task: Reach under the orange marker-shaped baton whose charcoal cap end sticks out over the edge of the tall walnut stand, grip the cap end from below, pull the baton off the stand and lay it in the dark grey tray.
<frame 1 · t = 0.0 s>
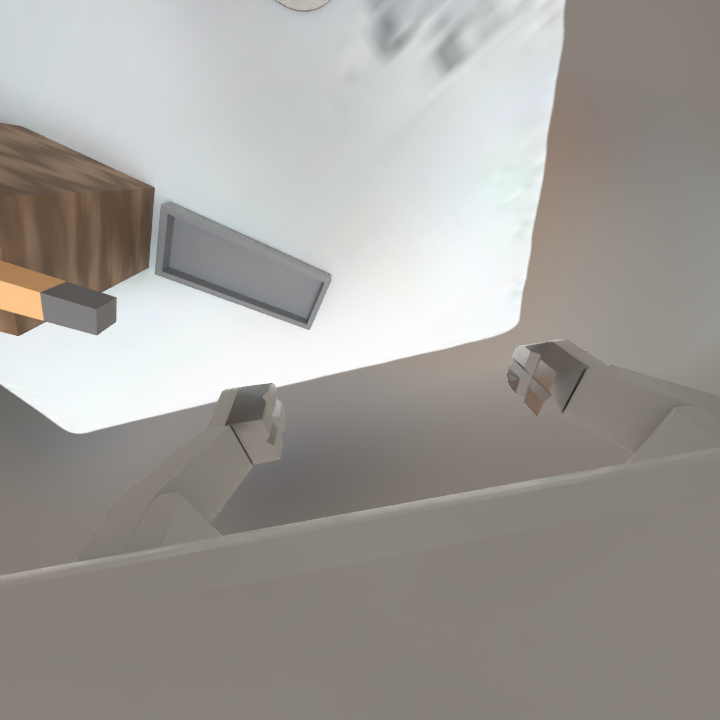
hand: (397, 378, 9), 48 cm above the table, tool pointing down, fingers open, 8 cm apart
tray: (251, 271, 52), on the table
stand: (94, 207, 43), on the table
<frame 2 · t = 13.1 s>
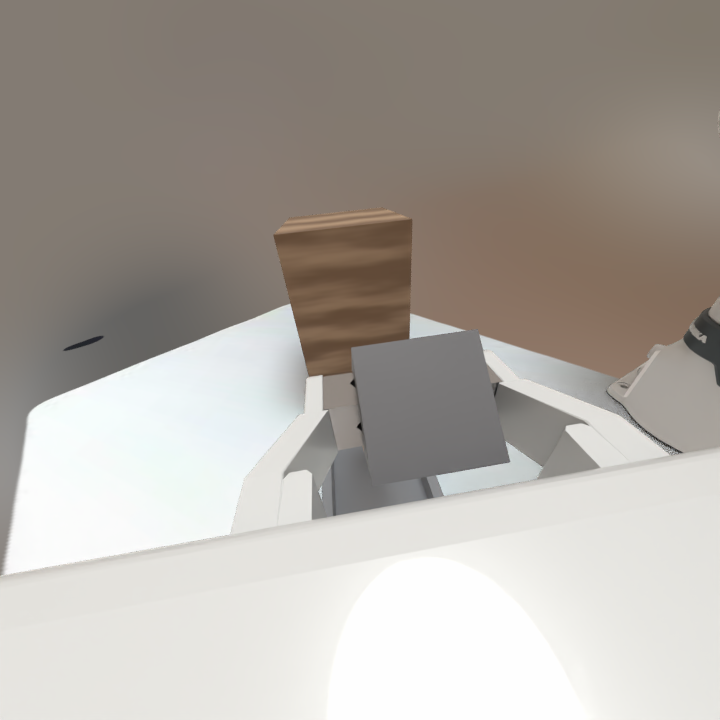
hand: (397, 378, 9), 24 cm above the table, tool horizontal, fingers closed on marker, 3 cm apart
tray: (386, 529, 27), on the table
stand: (358, 379, 47), on the table
marker: (382, 429, 16), point 17 cm above the table, tilted 44°, touching gripper
when the fingers open (14 cm above the table, at t = 16.4 s): marker drops 6 cm, resting on tray.
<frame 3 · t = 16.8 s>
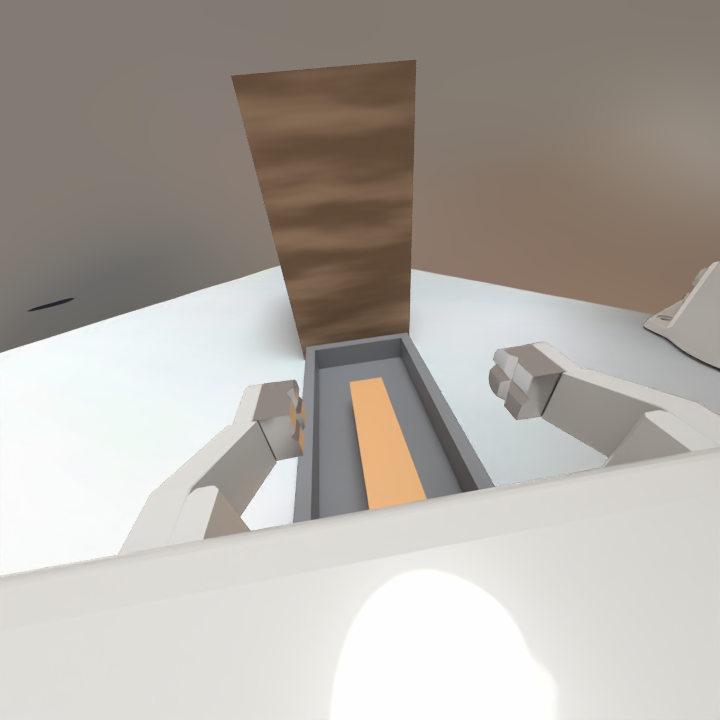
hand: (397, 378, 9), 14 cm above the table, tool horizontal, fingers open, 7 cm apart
tray: (382, 468, 21), on the table
stand: (351, 325, 41), on the table
marker: (394, 515, 16), point 2 cm above the table, tilted 8°, touching tray
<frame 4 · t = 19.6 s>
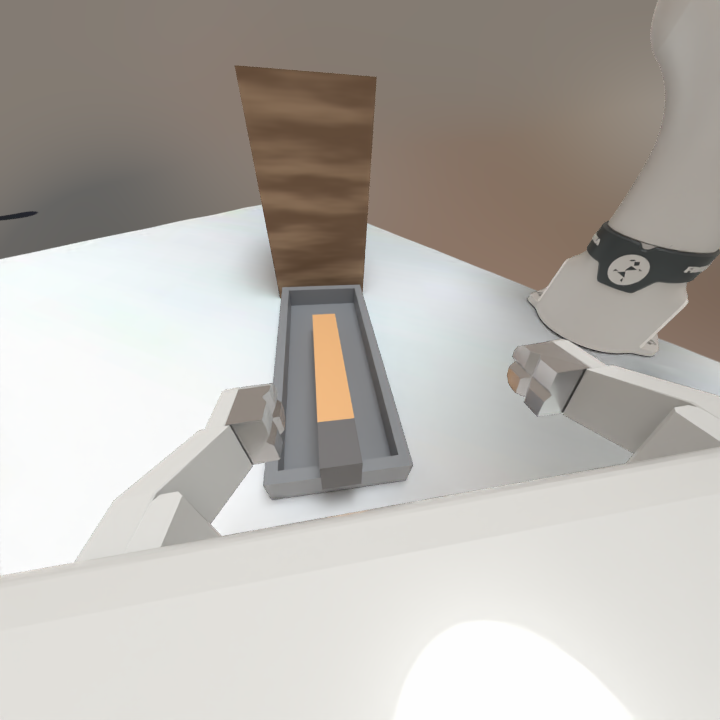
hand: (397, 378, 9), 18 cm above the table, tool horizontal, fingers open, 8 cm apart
tray: (329, 369, 33), on the table
stand: (320, 273, 50), on the table
marker: (330, 386, 28), point 2 cm above the table, tilted 8°, touching tray
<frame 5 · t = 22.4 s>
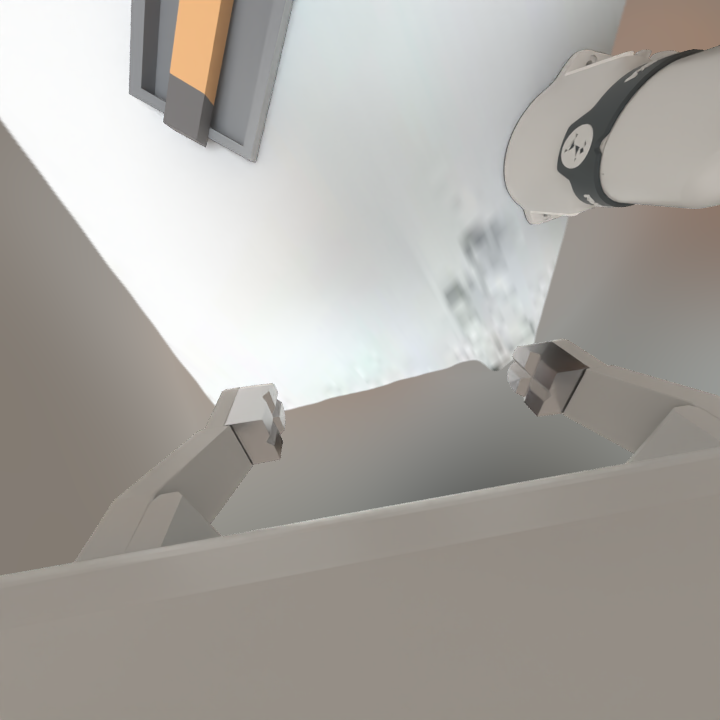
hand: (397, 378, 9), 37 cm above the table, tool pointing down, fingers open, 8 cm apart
marker: (213, 10, 25), point 2 cm above the table, tilted 8°, touching tray
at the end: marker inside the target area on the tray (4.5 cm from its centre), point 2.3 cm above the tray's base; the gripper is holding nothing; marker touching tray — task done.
